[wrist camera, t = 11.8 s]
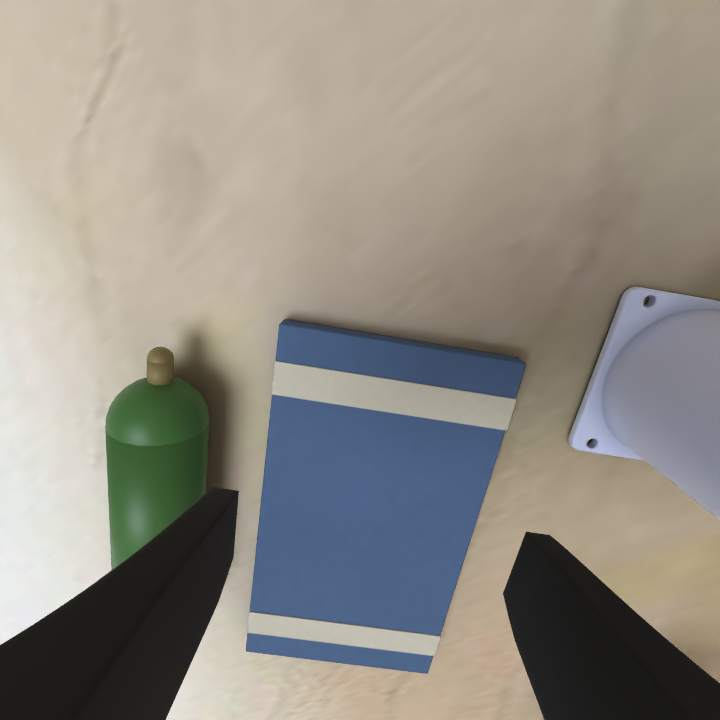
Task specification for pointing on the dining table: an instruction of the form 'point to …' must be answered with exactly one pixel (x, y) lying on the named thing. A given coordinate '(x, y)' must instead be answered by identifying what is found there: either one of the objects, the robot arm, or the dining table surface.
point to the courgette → (154, 455)
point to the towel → (371, 492)
